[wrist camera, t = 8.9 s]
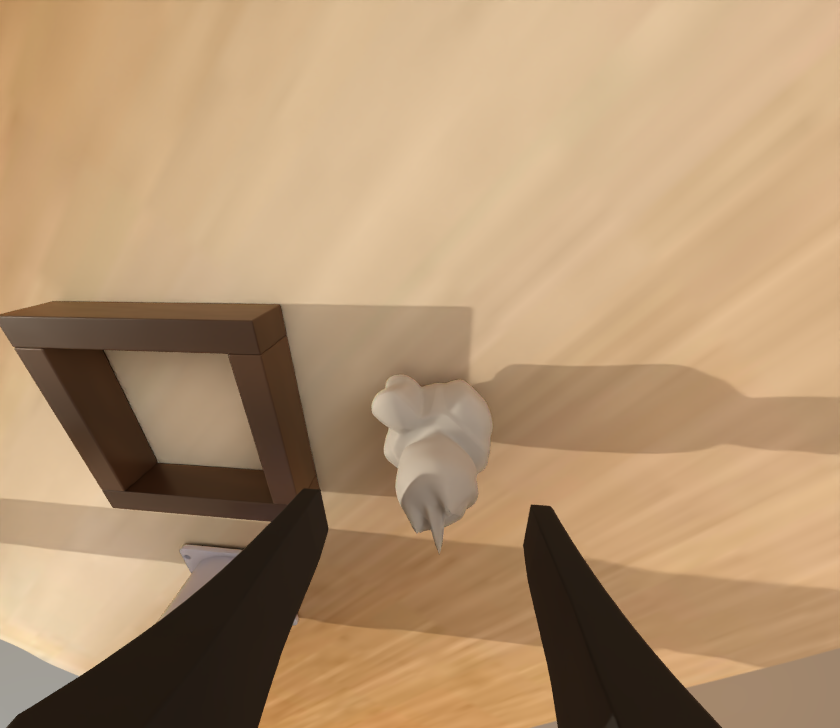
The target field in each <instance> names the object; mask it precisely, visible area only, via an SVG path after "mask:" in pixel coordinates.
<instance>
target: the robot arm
mask: <svg viewBox="0 0 840 728" xmlns="http://www.w3.org/2000/svg"><path fill="white" fill-rule="evenodd" d="M327 533H328V524H327V519H326V514H325V510H324V505H323V500H322V495H321V490H320V489H307V488H304V489H302V490H301V491H300V492H299V493H298V494H297V495H296V496H295V498H294V499H293V500H292V501H291V502H290V503H289V504H288V505H287V506H286V507H285V508H284V509H283V510H282V511H281V512H280V513H279V514H278V515H277V516H276V518H275V519H274V520H273V521H272V522H271V523H270V524H269V525H268V526H267V527H266V528H265V529H264V530H263V531H262V532H261V533H260V534H259V535H258V536H257V537H256V538H255V539H254V540H253V541H252V542H251V543H250V544H249V545H248V546H247V547H246V548H245V549H244V550H239V549H228V548H218V547H208V546H198V545H183V546H182V547H181V549H180V550H179V551H180V554H181V555H182V557H183V559H184V561H185V563H186V565H187V567H188V568H189V570H190V572H191V575H190V577H189V578H188V579H187V581H186V582H185V584H184V585H183V586H182V588H181V589H180V590H179V592H178V593H177V595H176V596H175V597H174V599H173V600H172V602H171V603H170V604H169V606H168V607H167V609H166V610H165V611H164V613H163V614H162V615H161V617H160V618H159V620H158V621H157V622H156V624H154V625H153V626H152V627H151V628H149V629H148V630H146V631H145V632H144V633H142V634H141V635H140V636H138V637H137V638H135V639H134V640H132V641H131V642H130V643H128V644H127V645H125V646H124V647H122V648H121V649H119V650H118V651H117V652H115V653H114V654H112V655H111V656H109V657H108V658H107V659H105V660H104V661H102V662H101V663H99V664H98V665H96V666H95V667H93V668H92V669H90V670H89V671H87V672H86V673H84V674H83V675H81V676H80V677H78V678H76V679H75V680H73V681H72V682H70V683H68V684H67V685H65V686H64V687H62V688H61V689H59V690H57V691H56V692H54V693H52V694H51V695H49V696H48V697H46V698H44V699H43V700H41V701H40V702H38V703H37V704H35V705H33V706H32V707H30V708H28V709H27V710H25V711H23V712H22V713H20V714H18V715H17V716H16V717H15V719H14V720H13V721H12V722H11V723H10V724H9V725H8V726H7V727H6V728H258V725H259V722H260V719H261V716H262V712H263V709H264V706H265V703H266V700H267V696H268V693H269V690H270V687H271V684H272V681H273V678H274V675H275V672H276V669H277V666H278V662H279V659H280V656H281V653H282V650H283V648H284V645H285V643H286V640H287V637H288V635H289V632H290V630H291V627H292V625H297V624H298V621H299V617H298V614H297V613H298V611H299V608H300V606H301V603H302V601H303V599H304V596H305V594H306V591H307V589H308V587H309V584H310V582H311V579H312V577H313V575H314V572H315V570H316V567H317V565H318V562H319V560H320V556H321V553H322V550H323V547H324V543H325V540H326V536H327ZM523 547H524V556H525V564H526V571H527V578H528V583H529V588H530V592H531V597H532V601H533V605H534V610H535V614H536V618H537V623H538V627H539V631H540V635H541V640H542V644H543V648H544V653H545V657H546V661H547V666H548V671H549V676H550V681H551V686H552V692H553V699H554V705H555V712H556V718H557V724H558V728H722V727H721V726H720V725H719V724H718V723H717V722H716V721H715V720H714V718H713V717H712V716H711V715H710V714H709V713H708V712H707V711H706V710H705V709H704V708H703V707H702V706H701V704H700V703H698V701H697V700H696V699H695V698H694V697H693V696H692V695H691V694H690V693H689V692H688V690H687V689H686V688H685V687H684V686H683V685H682V684H681V683H680V682H679V681H678V679H677V678H676V677H675V676H674V675H673V674H672V673H671V671H670V670H669V669H668V668H667V667H666V666H665V664H664V663H663V662H662V661H661V660H660V659H659V657H658V656H657V655H656V654H655V653H654V652H653V650H652V649H651V648H650V647H649V646H648V644H647V643H646V642H645V641H644V639H643V638H642V637H641V636H640V635H639V633H638V632H637V631H636V630H635V628H634V627H633V626H632V625H631V623H630V622H629V621H628V619H627V618H626V617H625V616H624V614H623V613H622V612H621V610H620V609H619V608H618V606H617V605H616V604H615V602H614V601H613V600H612V598H611V597H610V596H609V594H608V593H607V592H606V590H605V589H604V587H603V586H602V585H601V583H600V582H599V580H598V579H597V578H596V576H595V575H594V573H593V572H592V570H591V569H590V567H589V566H588V564H587V563H586V561H585V560H584V559H583V557H582V556H581V554H580V552H579V551H578V549H577V548H576V546H575V545H574V543H573V542H572V540H571V538H570V537H569V535H568V534H567V532H566V530H565V529H564V527H563V525H562V524H561V522H560V520H559V519H558V517H557V515H556V513H555V512H554V510H553V508H552V507H551V506H543V505H531V507H530V512H529V517H528V523H527V528H526V533H525V539H524V544H523Z"/></svg>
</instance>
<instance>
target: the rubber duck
mask: <svg viewBox="0 0 840 728" xmlns="http://www.w3.org/2000/svg"><path fill="white" fill-rule="evenodd" d="M371 409H372V413H373V415H374V416H375V417H376V418H377V419H378V420H379V421H380V422H381V423H383V424H384V425H385V426H387V427H388V428H389V429H388V432H387V436H386V439H385V444H384V455H385V457H386V458H387V460H388V461H389V462H391V463H392V464H393V465H394V466H395V467H396V468H398V471H397V475H396V483H395V489H396V494H397V498H398V501H399V503H400V505H401V507H402V509H403V510H404V512H405V514H406V515H407V517H408V519H409V521H410V523H411V525H412V527H413V529H414V530H415V532H416V533H418V532H420V533H421V532H423V531H426V530H431V532H432V535H433V538H434V542H435V545H436V547H437V550H438V552H439V555H440V551H441V547H442V542H443V533H444V527H446V526H449V525H451V524H453V523H455V522H456V521H458V520H460V519H461V518H462V517H463V515H464V513H465V510H466V509H468V508H470V507H471V506H472V505H473V504H474V503H475V502H476V500H477V498H478V486H477V474H478V473H480V472H481V471H483V470H484V469H485V468H486V466H487V463H488V458H489V453H490V442H491V438H490V436H491V433H492V429H493V423H492V416H491V413H490V410H489V407H488V405H487V403H486V401H485V400H484V399H483V398H482V396H481V395H480V394H479V393H478V392H477V391H476V390H475V389H474V388H473V387H472V386H471V385H470V384H468V383H467V382H466V381H463V380H460V379H456V380H452V381H450V382H448V383H433V384H429V385H426V386H423V387H421V386H420V385H419V384H418V383H417V382H416V381H415V380H414V379H413V378H411V377H409V376H406V375H403V374H397V375H393V376H391V377H390V378H388V379H387V381H386V388H385V389H383V390H381V391H380V392H378V394H377V395H376V396H375V397H374V399H373V402H372V406H371Z"/></svg>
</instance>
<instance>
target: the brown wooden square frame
mask: <svg viewBox="0 0 840 728" xmlns="http://www.w3.org/2000/svg"><path fill="white" fill-rule="evenodd" d="M0 327H1V328H2V330H3V332H4V333H5V335H6V336H7V338H8V340H9V341H10V343H11V344H12V346H13V347H15V351H16V352H17V354H18V355H19V357H20V359H21V360H22V362H23V363H24V365H25V367H26V368H27V370H28V371H29V373H30V375H31V376H32V378H33V380H34V381H35V383H36V384H37V386H38V388H39V389H40V391H41V392H42V394H43V396H44V397H45V399H46V400H47V402H48V404H49V405H50V407H51V409H52V410H53V412H54V413H55V415H56V417H57V418H58V420H59V421H60V423H61V425H62V426H63V428H64V429H65V431H66V433H67V434H68V436H69V438H70V439H71V441H72V442H73V444H74V446H75V447H76V449H77V450H78V452H79V454H80V455H81V457H82V459H83V460H84V462H85V463H86V465H87V467H88V468H89V470H90V471H91V473H92V475H93V476H94V478H95V479H96V481H97V483H98V484H99V486H100V488H101V489H102V491H103V493H104V494H105V496H106V497H107V499H108V501H109V502H110V504H111V506H112V507H113V508H119V509H131V510H142V511H154V512H165V513H177V514H188V515H200V516H211V517H223V518H235V519H246V520H258V521H269V522H272V521H273V520H274V519H275V518H276V516H277V515H278V514H279V513H280V512H281V511H282V510H283V509H284V508H285V507H286V506H287V505H288V504H289V503H290V502H291V501H292V500H293V499H294V498H295V496H296V495H297V494H298V493H299V492H300V491H301V490H302V489H304V488H307V489H319V485H318V480H317V476H316V471H315V467H314V462H313V457H312V452H311V448H310V443H309V438H308V434H307V429H306V424H305V420H304V415H303V410H302V405H301V401H300V396H299V391H298V387H297V382H296V377H295V373H294V368H293V363H292V358H291V354H290V349H289V344H288V340H287V336H286V330H285V325H284V320H283V316H282V311H281V306H280V305H278V304H206V303H133V302H60V301H52V302H48V303H44V304H40V305H36V306H32V307H28V308H24V309H19V310H15V311H11V312H7V313H3V314H0ZM103 350H125V351H158V352H190V353H223V354H228V357H229V360H230V363H231V366H232V370H233V373H234V376H235V379H236V383H237V386H238V389H239V392H240V396H241V399H242V402H243V405H244V409H245V412H246V415H247V418H248V422H249V425H250V428H251V432H252V435H253V438H254V441H255V445H256V448H257V451H258V454H259V458H260V461H261V464H262V467H263V470H250V469H235V468H221V467H206V466H192V465H178V464H163V463H157V460H156V458H155V456H154V454H153V452H152V450H151V448H150V446H149V444H148V442H147V440H146V438H145V436H144V434H143V432H142V430H141V428H140V426H139V424H138V422H137V419H136V417H135V415H134V413H133V411H132V409H131V407H130V405H129V403H128V401H127V399H126V397H125V395H124V393H123V391H122V389H121V387H120V385H119V383H118V381H117V379H116V377H115V375H114V373H113V371H112V369H111V367H110V364H109V362H108V360H107V358H106V356H105V354H104V352H103Z"/></svg>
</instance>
